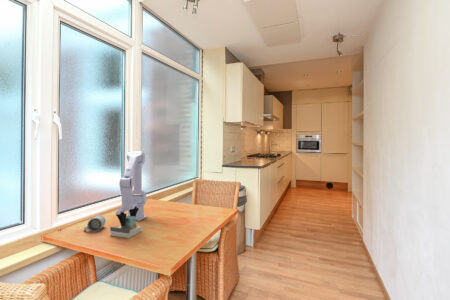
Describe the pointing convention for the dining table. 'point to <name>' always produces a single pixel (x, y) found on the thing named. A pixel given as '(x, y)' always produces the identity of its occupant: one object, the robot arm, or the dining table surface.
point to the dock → (124, 231)
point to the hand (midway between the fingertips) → (128, 223)
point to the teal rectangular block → (129, 222)
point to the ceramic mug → (95, 223)
